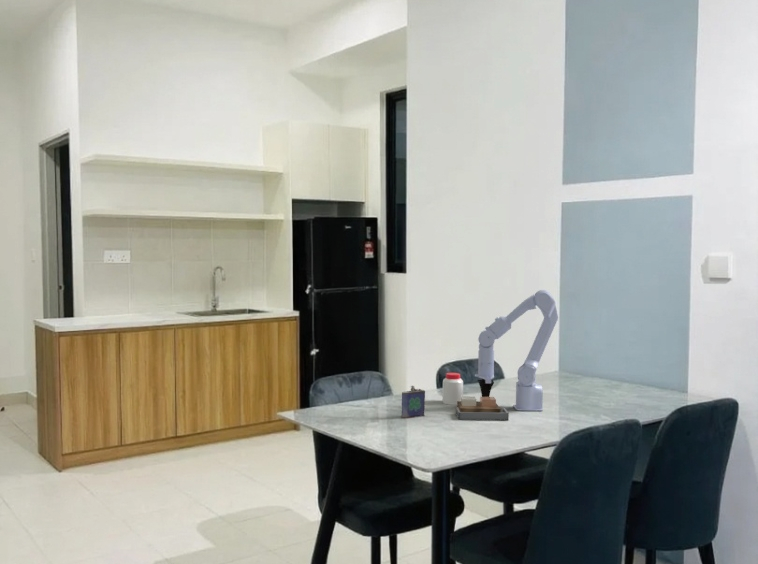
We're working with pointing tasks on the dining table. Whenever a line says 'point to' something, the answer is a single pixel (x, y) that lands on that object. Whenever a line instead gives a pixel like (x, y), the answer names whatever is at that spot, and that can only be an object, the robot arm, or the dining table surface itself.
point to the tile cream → (468, 401)
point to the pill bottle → (452, 388)
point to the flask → (413, 403)
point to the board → (478, 408)
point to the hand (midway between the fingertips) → (485, 399)
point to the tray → (482, 415)
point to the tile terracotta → (488, 401)
